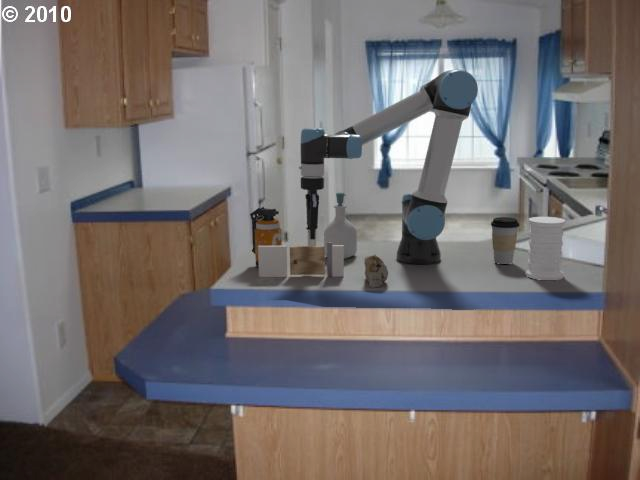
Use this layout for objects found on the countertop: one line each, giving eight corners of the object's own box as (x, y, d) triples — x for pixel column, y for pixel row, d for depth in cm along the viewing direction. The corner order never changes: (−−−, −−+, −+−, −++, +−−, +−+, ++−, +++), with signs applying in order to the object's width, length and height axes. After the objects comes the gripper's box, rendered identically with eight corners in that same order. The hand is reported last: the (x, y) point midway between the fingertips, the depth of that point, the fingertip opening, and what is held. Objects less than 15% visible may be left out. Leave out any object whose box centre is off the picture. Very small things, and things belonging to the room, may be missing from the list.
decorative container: (545, 283, 224) (548, 224, 220) (517, 274, 233) (519, 219, 229) (571, 277, 230) (574, 220, 226) (542, 269, 239) (545, 215, 235)
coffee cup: (487, 265, 246) (488, 221, 242) (491, 258, 254) (493, 216, 251) (515, 267, 242) (518, 222, 239) (519, 260, 251) (521, 217, 248)
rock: (391, 284, 220) (385, 251, 221) (370, 288, 219) (364, 255, 221) (387, 286, 232) (382, 255, 233) (367, 289, 232) (361, 258, 233)
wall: (343, 275, 235) (343, 241, 233) (343, 276, 233) (343, 243, 231) (259, 275, 236) (258, 242, 234) (258, 277, 234) (257, 243, 232)
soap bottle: (359, 255, 262) (358, 191, 257) (345, 260, 254) (345, 195, 249) (336, 252, 267) (335, 190, 262) (321, 257, 259) (321, 193, 254)
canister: (272, 270, 242) (270, 211, 238) (245, 266, 248) (243, 208, 244) (287, 265, 249) (286, 206, 245) (261, 261, 255) (259, 204, 251)
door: (324, 273, 235) (324, 246, 233) (324, 275, 233) (324, 247, 231) (290, 274, 235) (289, 246, 233) (290, 275, 233) (289, 248, 231)
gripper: (298, 174, 241) (298, 244, 246) (303, 179, 229) (303, 253, 234) (320, 174, 243) (320, 243, 248) (327, 179, 230) (326, 252, 235)
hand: (311, 248), depth 241 cm, fingers closed
